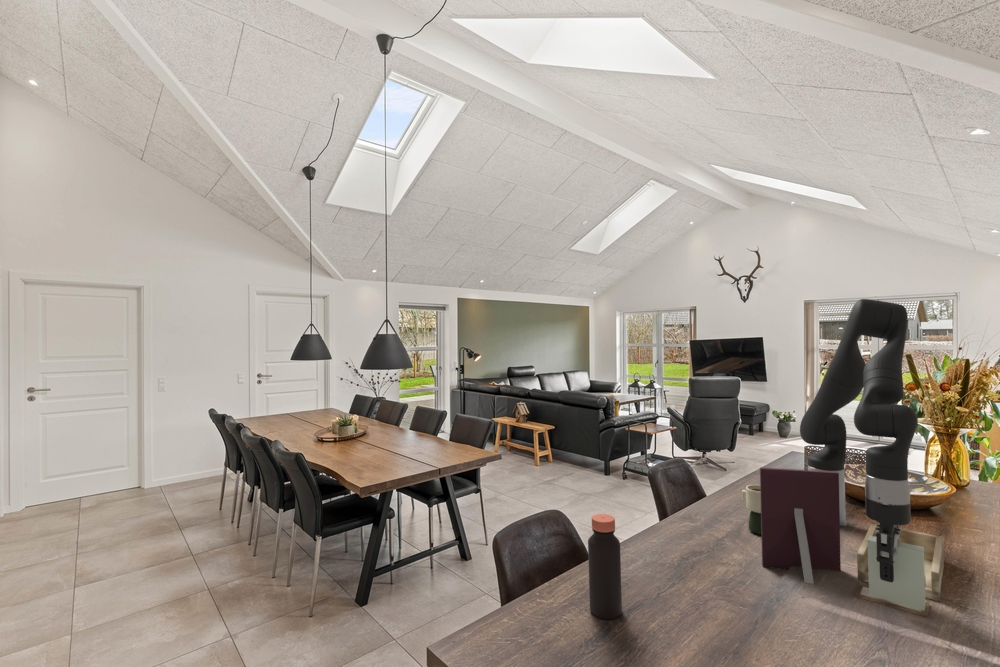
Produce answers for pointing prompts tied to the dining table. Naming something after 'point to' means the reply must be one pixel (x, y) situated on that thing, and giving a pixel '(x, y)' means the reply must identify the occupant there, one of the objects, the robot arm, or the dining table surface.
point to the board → (863, 593)
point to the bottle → (604, 568)
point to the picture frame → (800, 520)
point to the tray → (931, 558)
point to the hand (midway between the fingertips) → (889, 572)
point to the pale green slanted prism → (899, 575)
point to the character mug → (753, 506)
